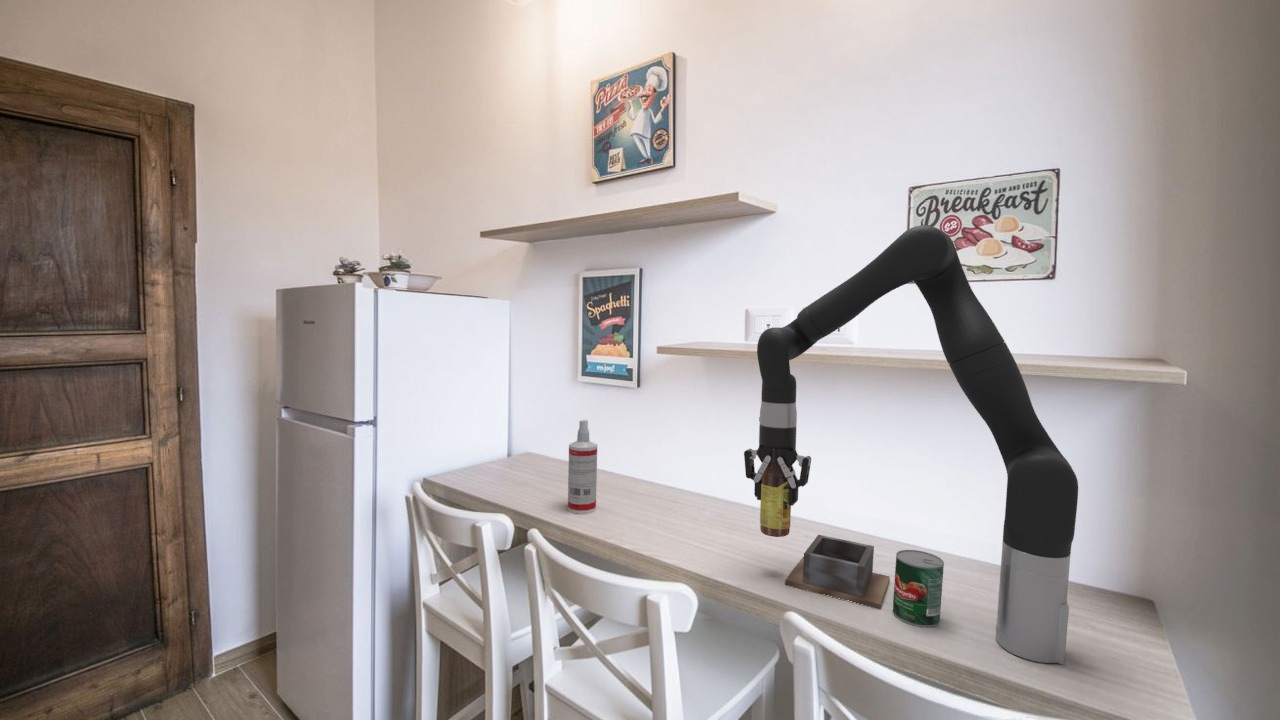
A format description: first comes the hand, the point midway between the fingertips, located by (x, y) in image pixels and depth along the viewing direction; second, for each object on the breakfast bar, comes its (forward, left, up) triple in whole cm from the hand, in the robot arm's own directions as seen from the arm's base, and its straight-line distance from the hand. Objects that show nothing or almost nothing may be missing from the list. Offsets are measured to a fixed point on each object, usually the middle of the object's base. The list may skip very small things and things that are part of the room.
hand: (775, 501), depth 120 cm
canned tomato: (-28, +3, -16) cm, 32 cm away
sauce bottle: (0, 0, -7) cm, 7 cm away
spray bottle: (+57, -10, -16) cm, 60 cm away
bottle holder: (-13, -3, -15) cm, 20 cm away
